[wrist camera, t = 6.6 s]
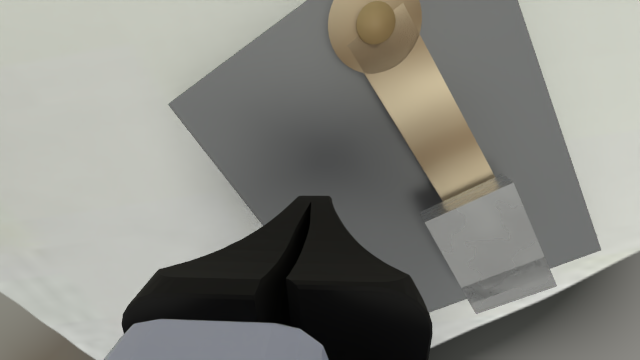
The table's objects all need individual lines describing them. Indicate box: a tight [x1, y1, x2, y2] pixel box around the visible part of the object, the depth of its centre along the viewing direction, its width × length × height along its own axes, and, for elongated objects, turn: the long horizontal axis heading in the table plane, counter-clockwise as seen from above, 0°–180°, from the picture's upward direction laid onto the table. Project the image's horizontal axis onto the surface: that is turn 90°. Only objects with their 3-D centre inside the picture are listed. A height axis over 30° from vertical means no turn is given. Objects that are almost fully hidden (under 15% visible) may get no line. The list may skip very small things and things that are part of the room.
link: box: [328, 0, 495, 201], centre depth 17 cm, size 16×5×2 cm, turn 35°
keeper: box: [420, 174, 557, 314], centre depth 19 cm, size 8×5×4 cm, turn 32°
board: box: [168, 0, 601, 312], centre depth 21 cm, size 20×24×1 cm
